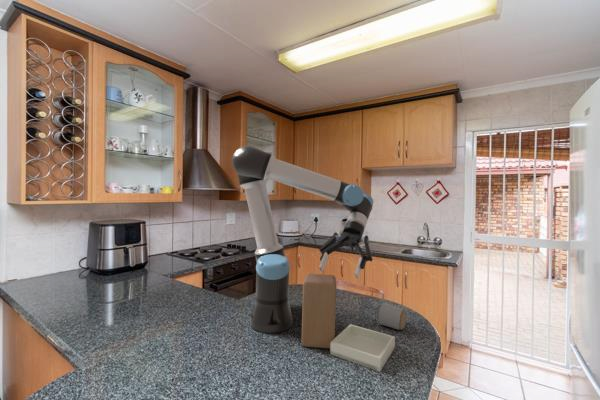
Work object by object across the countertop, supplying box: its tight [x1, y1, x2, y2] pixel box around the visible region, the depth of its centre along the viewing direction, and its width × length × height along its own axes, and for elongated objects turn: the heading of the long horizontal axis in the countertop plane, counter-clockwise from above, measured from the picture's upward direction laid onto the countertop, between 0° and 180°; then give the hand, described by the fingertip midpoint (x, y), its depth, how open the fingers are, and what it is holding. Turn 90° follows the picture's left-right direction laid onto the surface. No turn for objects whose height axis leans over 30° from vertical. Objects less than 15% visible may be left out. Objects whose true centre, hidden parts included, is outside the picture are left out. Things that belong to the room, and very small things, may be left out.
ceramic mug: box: [377, 302, 407, 331], centre depth 104 cm, size 11×8×8 cm
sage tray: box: [329, 323, 396, 372], centre depth 86 cm, size 15×15×4 cm
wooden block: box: [300, 273, 337, 350], centre depth 91 cm, size 10×10×20 cm
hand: (337, 272), depth 100 cm, fingers open, 13 cm apart
